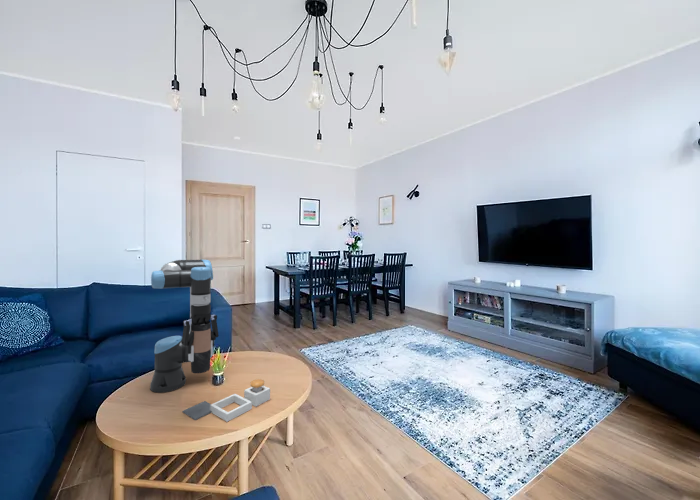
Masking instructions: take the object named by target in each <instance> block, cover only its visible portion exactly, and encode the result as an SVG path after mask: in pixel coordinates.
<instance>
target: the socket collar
mask: <svg viewBox="0 0 700 500" xmlns="http://www.w3.org/2000/svg"><path fill="white" fill-rule="evenodd" d="M234 403H235V404H237V405H239V406H238V407H236V408H234V409H232V410H229V411H227V410H225V409H223V408H225V407H227V406H229V405H231V404H234ZM210 404H211V405H210V411H211V413H210V414H213V415H214V416H217V417H218V418H220V419H221V420H223V421H225V422H226V423H228V422H229V421H232V420H234V419H235V418H237V417H240V416H241V415H243V414H245V413H247V412H248V411H251V410H252V409H253V405H252V402H251V401H249V400H247V399H245V398H244V397H243V396H241V395H239V394H237V393H233V394H231V395H229V396H226V397H224V398H222V399H219V400H218V401H216V402H213V403H210Z"/></svg>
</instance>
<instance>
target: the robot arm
mask: <svg viewBox="0 0 700 500" xmlns="http://www.w3.org/2000/svg"><path fill="white" fill-rule="evenodd" d="M213 273H214V271H213V266H212V263H211V261H210V260H209V259H202V258H201V259H176V260H174V261H173V260H172V261H170V262H167V263H164V264H163V265H162V267H161V268H160V270H153V271H152V272H151V277H150V279H151V280H150V281H151V282H150V283H151V287H152V289H161V290H162V289H175V288H189V292H190V293H189V310H190V311H189V319H188V320H187V319H186V320H185V319H184V320H183V321H182V324H183V331H182V335H172V336H167V337H164V338H162V339H159V340H158V341H157V342H156V343H155V345H154V352H153V354H154V373H153V376H152V378H151V381H150V386H149V387H150V388H149V389H150V391H151V392H154V393H168V392H172V391H175V390H179V389H181V388H182V387H184V386H185V384H186V383H187V382H186V381H187V377H186V375H185V372H184V370H183V364H185V363H191V362H193V361H194V346H193V345H192V343H193V340H194V331H193V332H192V331H191V323H193V324H192V325H201V324H209V322H208V321H210V323H211V354H210V359H211V358H212V357H213V354H214V348H215V341H216V339H217V338H218V337H219V336H220V335H219V328H218V322H217V321H218V315H216V314H211V311H212V310H211V307H212V305H211V302H212V301H211V300H212V299H211V295H212V294H211V293H212V291H211V288H212V287H211V285H212V284H211V281H213V279H214V274H213Z"/></svg>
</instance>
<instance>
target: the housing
mask: <svg viewBox="0 0 700 500" xmlns="http://www.w3.org/2000/svg"><path fill="white" fill-rule="evenodd" d="M243 395H244V397H243V398H245V399H247V400H249V401H251V402H252V407H258V406H260V405H262V404H264V403H266V402H267V401H269V400H270V399H271V388H270V387H267V386H265V385H263V386H262V391H260V392H258V393H255V392H253V387H251V386H250V387H248V388H246V389H244V391H243Z"/></svg>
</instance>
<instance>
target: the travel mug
mask: <svg viewBox="0 0 700 500" xmlns="http://www.w3.org/2000/svg"><path fill="white" fill-rule="evenodd" d="M208 322H209V324H201V325H192V324H193V323H191V331H192V332H193V331H194V340H193V343H192V345H193V346H194V361H193V362H190V370H191V373H193V374H202V373H206V372H208V371H210V369H211V358H210V354H211V330H212V325H211V320H209V321H208Z"/></svg>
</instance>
